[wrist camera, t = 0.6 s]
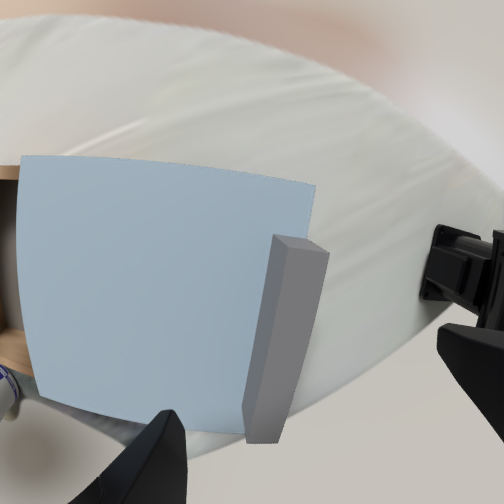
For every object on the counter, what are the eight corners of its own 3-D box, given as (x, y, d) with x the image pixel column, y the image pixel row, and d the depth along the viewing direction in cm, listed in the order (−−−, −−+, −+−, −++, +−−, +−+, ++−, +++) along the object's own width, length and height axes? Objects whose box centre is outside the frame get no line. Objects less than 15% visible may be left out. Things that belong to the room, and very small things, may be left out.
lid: (309, 185, 14) (341, 185, 10) (259, 423, 17) (268, 468, 13) (31, 156, 12) (-14, 152, 8) (45, 387, 15) (22, 422, 11)
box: (155, 174, 18) (134, 171, 13) (143, 363, 21) (129, 404, 16) (0, 167, 16) (-40, 166, 11) (6, 327, 19) (-24, 352, 14)
